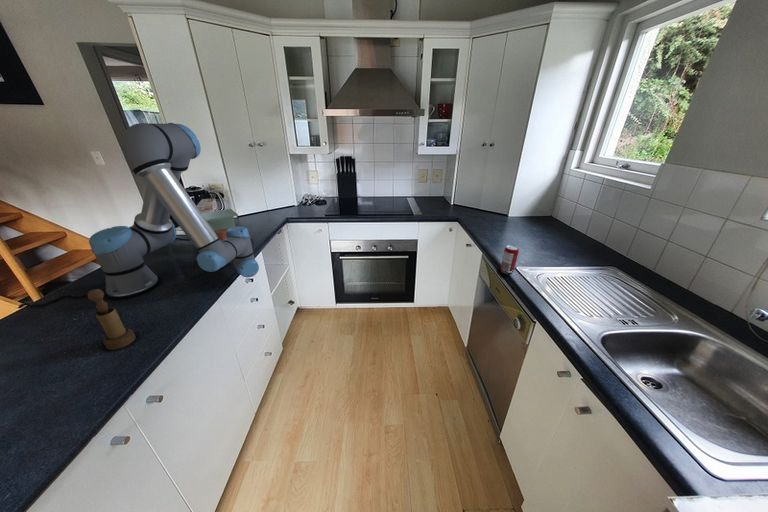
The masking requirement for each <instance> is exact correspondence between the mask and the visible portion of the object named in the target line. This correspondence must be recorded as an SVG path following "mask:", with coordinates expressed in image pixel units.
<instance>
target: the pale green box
mask: <svg viewBox="0 0 768 512" xmlns="http://www.w3.org/2000/svg"><path fill="white" fill-rule="evenodd" d="M202 215H203V216H204V218H205V219H206V221H207V222H208V223H209V225H210V226H211V228H212V229H213V231H215V230H218V229H229V228H232V227H237V226H236V222H235V219H234V217H238V216H239V214H238V213H237V212H236V211H235V210H233V209H232V208H227V209H221V210H218V211H214V212H208V213H202Z"/></svg>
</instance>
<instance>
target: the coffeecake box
mask: <svg viewBox="0 0 768 512" xmlns="http://www.w3.org/2000/svg"><path fill="white" fill-rule="evenodd" d="M196 206H197V208H198V209H199V211H200V212H201V214H202V213H208V212H214V211H219V208H218V203H217V201H216V198H213V197H212V198H202V199H200V201H199V202H198V203H197V205H196Z"/></svg>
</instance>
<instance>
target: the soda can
mask: <svg viewBox="0 0 768 512" xmlns="http://www.w3.org/2000/svg"><path fill="white" fill-rule="evenodd" d="M503 250H504V251H503V255H502V258H501V264H500V269H499V270H500V271H501V273H502V274H505V275H509V274H508V272H505V271H512V270H514V271H515V268H516V264H517V260H518V257H519V254H520V253H519V252H520V249H519V247H518V246H517V245H515V244H514V245H513V244H507V245H506V246H505V248H504V249H503Z"/></svg>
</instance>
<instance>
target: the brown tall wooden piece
mask: <svg viewBox="0 0 768 512" xmlns="http://www.w3.org/2000/svg"><path fill="white" fill-rule="evenodd" d="M87 292H88V295H86V296H87V298H88V300H90V301H92V302H95V308H96V309H97V310H98V311H96V312H95V317H96V318H97V320H98V322H99V324H100V325H101V327H102V329H103V331H104V333H105V335H106V336H105V337H104V339H103V340H102V341H103V344H104V346H105V349H107V350H109V351H110V350H111V351H115V350H120V349H122V348H126V347H127V346H129V345H131V344H132V343H133V342H134V341H136V338H137V336H136V334H135V333H134V330H133V329H131V328H125V325H124V324H123V322H122V319H121V317H120V315H119V314H118V312H117V310H116V307H113V306H109V305H108V302H107V301H105V300H104V296H105V293H104V291H103V290H99V288H93V289H91V290H90V291H87ZM108 306H109V307H108Z"/></svg>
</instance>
